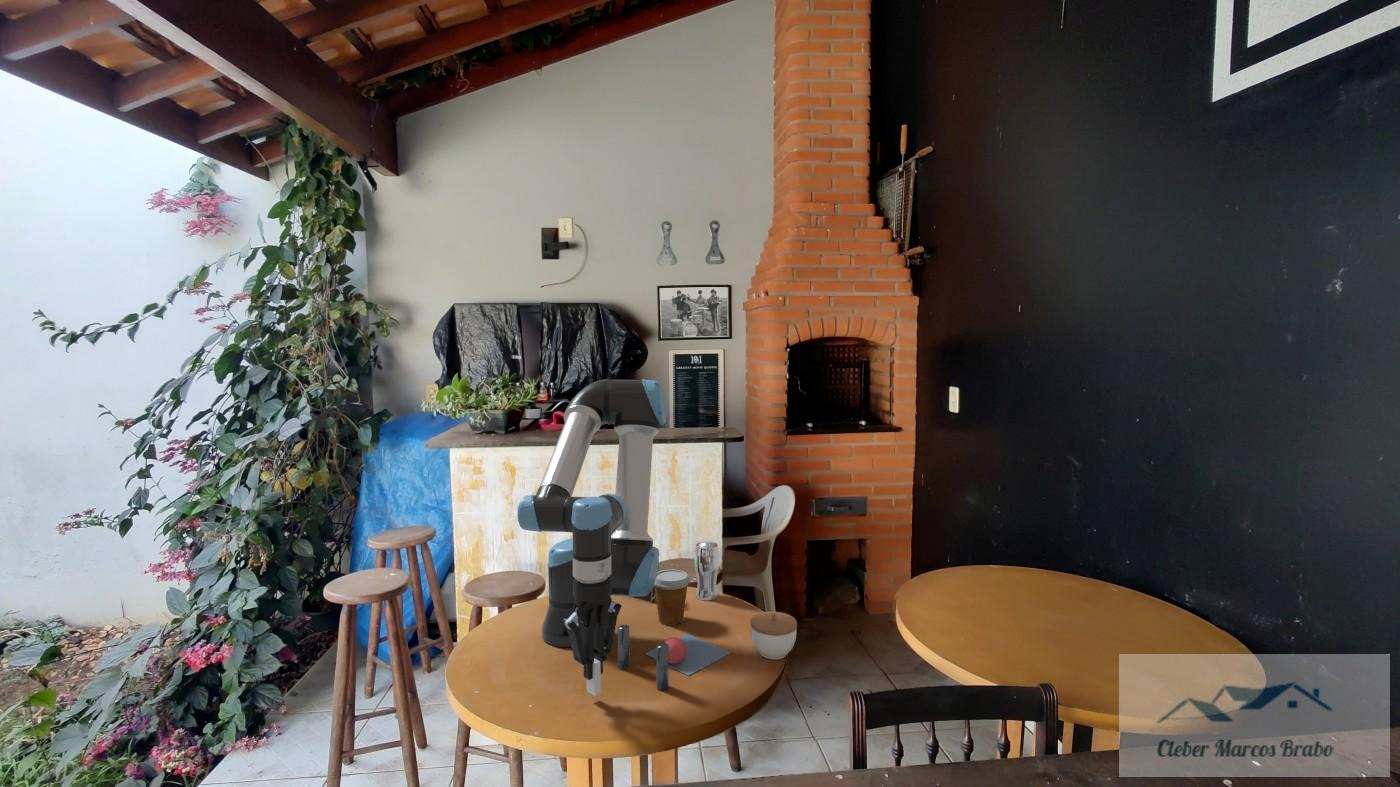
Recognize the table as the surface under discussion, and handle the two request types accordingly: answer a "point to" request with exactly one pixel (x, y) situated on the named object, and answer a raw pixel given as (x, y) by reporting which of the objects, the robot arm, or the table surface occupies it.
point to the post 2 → (662, 666)
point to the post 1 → (623, 647)
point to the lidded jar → (773, 634)
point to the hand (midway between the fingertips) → (593, 691)
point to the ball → (676, 650)
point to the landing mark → (695, 655)
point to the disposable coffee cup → (671, 595)
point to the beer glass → (706, 569)
